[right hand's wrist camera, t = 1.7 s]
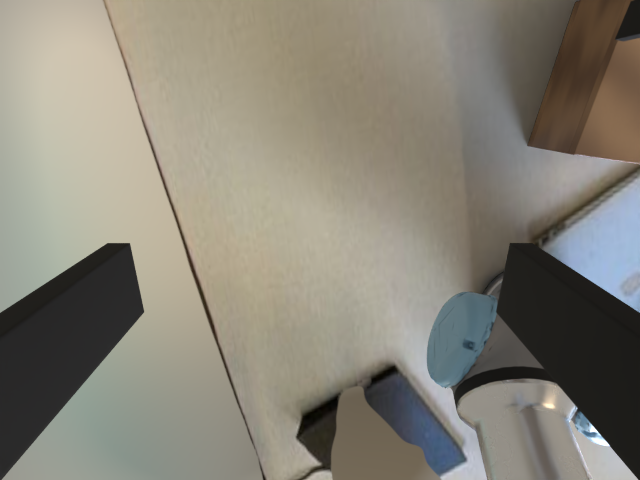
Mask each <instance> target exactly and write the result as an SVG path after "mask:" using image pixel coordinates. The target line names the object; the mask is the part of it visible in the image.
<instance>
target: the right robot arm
mask: <svg viewBox="0 0 640 480" xmlns="http://www.w3.org/2000/svg"><path fill="white" fill-rule="evenodd" d="M143 313H144V309H143V304H142V299H141V294H140V290H139V285H138V280H137V275H136V270H135V266H134V261H133V256H132V251H131V246H130V243H107V244H106V245H104V246H103V247H101V248H100V249H98V250H97V251H95V252H94V253H92V254H90V255H89V256H87V257H86V258H84V259H83V260H81V261H80V262H78V263H77V264H75V265H73V266H72V267H70V268H69V269H67V270H66V271H64V272H63V273H61V274H60V275H58V276H56V277H55V278H53V279H52V280H50V281H49V282H47V283H46V284H44V285H43V286H41V287H40V288H38V289H37V290H35V291H33V292H32V293H30V294H29V295H27V296H26V297H24V298H23V299H21V300H20V301H18V302H16V303H15V304H13V305H12V306H10V307H9V308H7V309H6V310H4V311H3V312H1V313H0V480H2V478H3V477H4V476H5V475H6V474H7V473H8V471H9V470H10V469H11V468H12V467H13V465H14V464H15V463H16V462H17V461H18V460H19V458H20V457H21V456H22V455H23V454H24V453H25V451H26V450H27V449H28V448H29V447H30V446H31V444H32V443H33V442H34V441H35V440H36V438H37V437H38V436H39V435H40V434H41V433H42V431H43V430H44V429H45V428H46V427H47V426H48V424H49V423H50V422H51V421H52V420H53V419H54V417H55V416H56V415H57V414H58V413H59V411H60V410H61V409H62V408H63V407H64V406H65V404H66V403H67V402H68V401H69V400H70V399H71V397H72V396H73V395H74V394H75V393H76V391H77V390H78V389H79V388H80V387H81V386H82V384H83V383H84V382H85V381H86V380H87V379H88V377H89V376H90V375H91V374H92V373H93V371H94V370H95V369H96V368H97V367H98V366H99V364H100V363H101V362H102V361H103V360H104V359H105V357H106V356H107V355H108V354H109V353H110V352H111V350H112V349H113V348H114V347H115V346H116V344H117V343H118V342H119V341H120V340H121V339H122V337H123V336H124V335H125V334H126V333H127V332H128V330H129V329H130V328H131V327H132V326H133V325H134V323H135V322H136V321H137V320H138V319H139V317H140V316H141V315H142V314H143ZM496 313H497V314H498V315H499V316H500V317H501V319H502V320H503V321H504V322H505V323H506V325H507V326H508V327H509V328H510V329H511V330H512V332H513V333H514V334H515V335H516V336H517V337H518V339H519V340H520V341H521V342H522V343H523V345H524V346H525V347H526V348H527V349H528V350H529V352H530V353H531V354H532V355H533V356H534V357H535V359H536V360H537V361H538V362H539V363H540V364H541V366H542V367H543V368H544V369H545V370H546V372H547V373H548V374H549V375H550V376H551V377H552V379H553V380H554V381H555V382H556V383H557V384H558V386H559V387H560V388H561V389H562V390H563V391H564V393H565V394H566V395H567V396H568V397H569V399H570V400H571V401H572V402H573V403H574V404H575V406H576V407H577V408H578V409H579V410H580V411H581V413H582V414H583V415H584V416H585V417H586V419H587V420H588V421H589V422H590V423H591V424H592V426H593V427H594V428H595V429H596V430H597V431H598V433H599V434H600V435H601V436H602V437H603V438H604V440H605V441H606V442H607V443H608V444H609V446H610V447H611V448H612V449H613V450H614V451H615V453H616V454H617V455H618V456H619V457H620V458H621V460H622V461H623V462H624V463H625V464H626V466H627V467H628V468H629V469H630V470H631V471H632V473H633V474H634V475H635V476H636V477H637V478H638V480H640V313H639V312H637V311H636V310H634V309H633V308H631V307H630V306H628V305H627V304H625V303H624V302H622V301H621V300H619V299H617V298H616V297H614V296H613V295H611V294H610V293H608V292H607V291H605V290H604V289H602V288H600V287H599V286H597V285H596V284H594V283H593V282H591V281H590V280H588V279H587V278H585V277H584V276H582V275H580V274H579V273H577V272H576V271H574V270H573V269H571V268H570V267H568V266H567V265H565V264H563V263H562V262H560V261H559V260H557V259H556V258H554V257H553V256H551V255H550V254H548V253H547V252H545V251H543V250H542V249H540V248H539V247H537V246H536V245H534V244H533V243H510V246H509V251H508V256H507V261H506V266H505V270H504V275H503V280H502V285H501V290H500V294H499V299H498V304H497V309H496Z"/></svg>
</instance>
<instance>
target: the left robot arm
mask: <svg viewBox="0 0 640 480" xmlns="http://www.w3.org/2000/svg"><path fill="white" fill-rule="evenodd" d="M637 38H640V0H633V1H631V2H630V4H629V7H628V9H627V11H626V14H625V16H624V18H623V21H622V23H621V26H620V28H619V30H618V33H617V35H616V37H615V40H618V41H628V40H632V39H637ZM503 275H504V272H503V273H501V274H500V275H498V276H497V277H496V278H495V279H494V280H493V281H492V282H491V283H490V284H489V285H488V286H487V288H486V289H485V291H484V292H483V294H478V293H473V292H462V293H459V294H456V295H455V296H453V297H452V298H450V299H449V300H448V301H447V302H446V303H445V305H444V306H443V307H442V309H441V310H440V312H439V314H438V316H437V318H436V320H435V322H434V324H433V327H432V330H431V333H430V337H429V342H428V348H427V367H428V371H429V374H430V377H431V378H432V379H433V380H434V381H435V382H436V383H437V384H439V385H440V386H441V387H445V388H447V389H448V388H451V389H452V390H453V394H454V399H455V404H456V409H457V413H458V415H459V418H460V419H461V420H462V421H463V422H464V423H465V424H467V425H468V426H470V427H471V428H472V429H474V430H475V431H476V433H477V437H478V441H479V446H480V450H481V454H482V459H483V463H484V467H485V472H486V476H487V480H593V478H592V476H591V474H590V471H589V469H588V467H587V464H586V462H585V460H584V457H583V455H582V453H581V450H580V448H579V446H578V443H577V441H576V439H575V436H574V434H573V432H572V429H571V427H570V425H569V422H570V420H572V421H573V422H574V424H575V427H576V429H577V430H578V431H579V432H581V433H582V434H583V435H584V436H585V437H586V438H588V439H589V440H590V441H592V442H594V443H596V444H599V445H604V446H609V444H608V443H607V442H606V441H605V440H604V438H603V437H602V436H601V435H600V434H599V433H598V431H597V430H596V429H595V428H594V427H593V426H592V424H591V423H590V422H589V421H588V420H587V419H586V417H585V416H584V415H583V414H582V413H581V411H580V410H579V409H578V408H577V407H576V406H575V404H574V403H573V402H572V401H571V400H570V399H569V397H568V396H567V395H566V394H565V393H564V391H563V390H562V389H561V388H560V387H559V386H558V384H557V383H556V382H555V381H554V380H553V379H552V377H551V376H550V375H549V374H548V373H547V372H546V370H545V369H544V368H543V367H542V366H541V364H540V363H539V362H538V361H537V360H536V359H535V357H534V356H533V355H532V354H531V353H530V352H529V350H528V349H527V348H526V347H525V346H524V345H523V343H522V342H521V341H520V340H519V339H518V337H517V336H516V335H515V334H514V333H513V332H512V330H511V329H510V328H509V327H508V326H507V325H506V323H505V322H504V321H503V320H502V319H501V317H500V316H499V315H498V314H497V313H496V309H497V304H498V299H499V294H500V290H501V285H502V280H503Z"/></svg>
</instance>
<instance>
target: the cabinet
mask: <svg viewBox="0 0 640 480" xmlns="http://www.w3.org/2000/svg"><path fill="white" fill-rule="evenodd" d="M631 1H633V0H580V1H577V2H575V5H574V8H573V11H572V14H571V17H570V20H569V23H568V26H567V29H566V32H565V35H564V38H563V41H562V44H561V47H560V50H559V53H558V56H557V59H556V62H555V65H554V68H553V71H552V74H551V77H550V80H549V83H548V86H547V89H546V92H545V95H544V98H543V101H542V104H541V107H540V110H539V113H538V116H537V119H536V122H535V125H534V128H533V131H532V134H531V137H530V140H529V143H528V146H531V147H536V148H541V149H546V150H552V151H557V152H562V153H567V154H573V155H579V156H586V157H594V158H601V159H608V160H615V161H622V162H629V163H636V164H640V38H637V39H632V40H628V41H618V40H615V37H616V35H617V33H618V30H619V28H620V26H621V23H622V21H623V18H624V16H625V14H626V11H627V9H628V7H629V4H630V2H631Z"/></svg>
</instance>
